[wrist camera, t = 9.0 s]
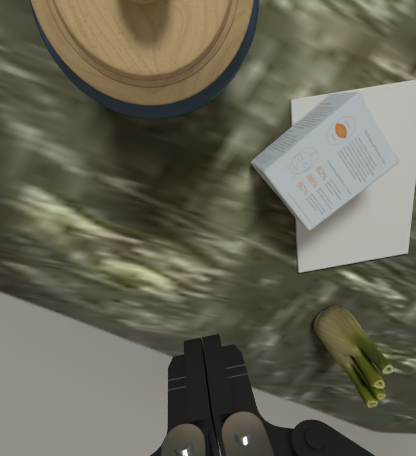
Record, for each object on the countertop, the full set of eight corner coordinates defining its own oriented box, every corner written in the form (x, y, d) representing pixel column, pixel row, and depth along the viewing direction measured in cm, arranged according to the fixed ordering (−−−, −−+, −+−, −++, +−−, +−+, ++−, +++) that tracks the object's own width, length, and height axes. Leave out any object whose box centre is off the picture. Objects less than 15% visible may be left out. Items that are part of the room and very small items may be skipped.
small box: (290, 214, 36) (368, 153, 34) (309, 233, 31) (403, 162, 29) (248, 161, 33) (331, 91, 32) (261, 171, 28) (361, 89, 26)
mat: (289, 99, 32) (291, 99, 32) (423, 78, 32) (425, 78, 32) (297, 271, 39) (298, 272, 39) (405, 251, 40) (407, 253, 40)
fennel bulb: (331, 293, 41) (388, 363, 30) (356, 310, 43) (420, 383, 32) (301, 324, 43) (346, 402, 31) (326, 339, 44) (377, 419, 33)
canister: (213, 125, 32) (252, 148, 16) (80, 99, 30) (-33, 93, 14) (242, -27, 28) (338, -215, 11) (89, -71, 26) (-62, -377, 9)
